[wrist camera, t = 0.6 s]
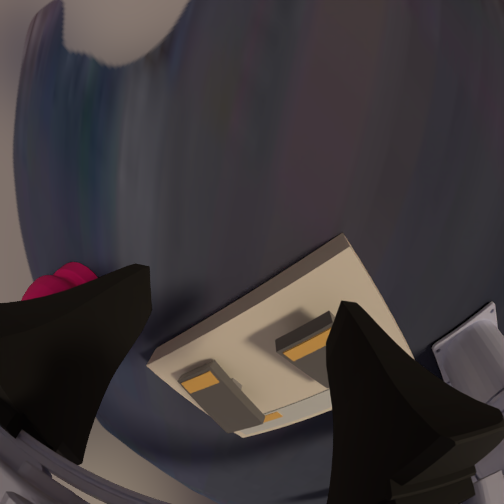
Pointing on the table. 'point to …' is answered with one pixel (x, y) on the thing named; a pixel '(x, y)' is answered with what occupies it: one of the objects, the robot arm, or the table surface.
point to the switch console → (277, 335)
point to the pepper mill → (60, 280)
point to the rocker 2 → (308, 347)
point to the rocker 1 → (221, 398)
